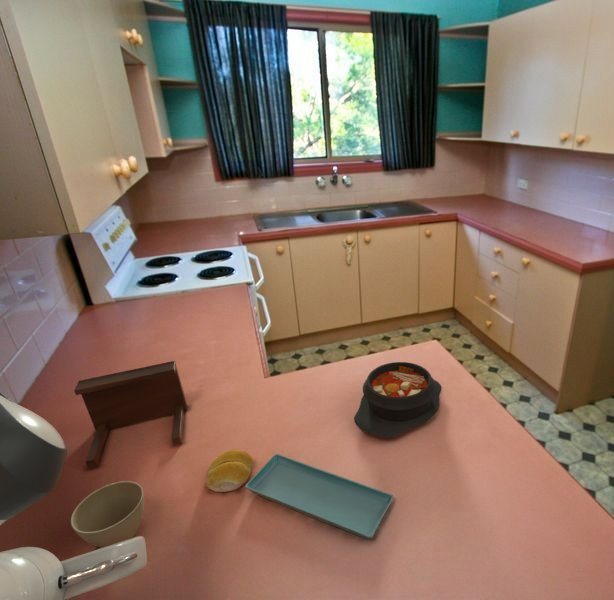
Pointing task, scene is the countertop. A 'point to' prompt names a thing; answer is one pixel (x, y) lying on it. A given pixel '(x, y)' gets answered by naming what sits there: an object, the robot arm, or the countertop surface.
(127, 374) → the cup rack
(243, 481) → the bread roll
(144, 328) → the countertop surface
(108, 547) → the robot arm
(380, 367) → the casserole
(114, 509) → the beige bowl
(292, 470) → the rectangular tray
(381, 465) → the countertop surface
